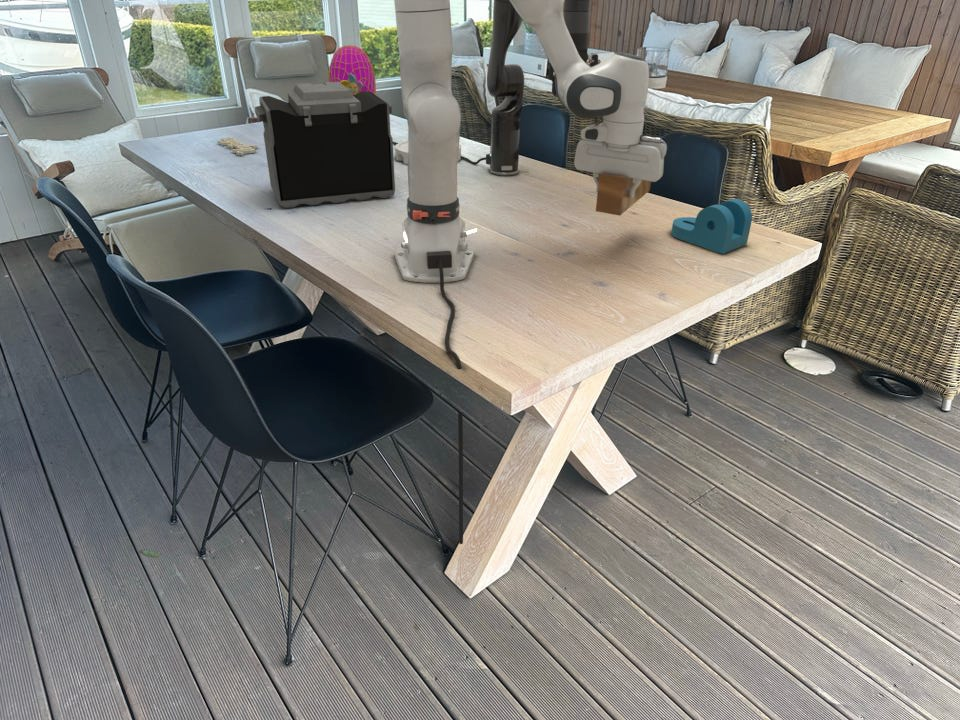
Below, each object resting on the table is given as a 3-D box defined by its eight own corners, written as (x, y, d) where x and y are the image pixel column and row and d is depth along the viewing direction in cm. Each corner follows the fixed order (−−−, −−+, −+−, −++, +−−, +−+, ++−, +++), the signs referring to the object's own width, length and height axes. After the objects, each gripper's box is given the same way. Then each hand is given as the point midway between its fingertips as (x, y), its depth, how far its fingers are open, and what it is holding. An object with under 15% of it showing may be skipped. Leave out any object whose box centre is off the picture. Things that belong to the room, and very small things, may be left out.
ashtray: (454, 167, 232) (454, 155, 230) (388, 164, 235) (387, 152, 233) (466, 151, 252) (466, 140, 250) (404, 148, 255) (404, 137, 253)
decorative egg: (362, 116, 305) (357, 42, 290) (386, 123, 292) (382, 46, 277) (324, 121, 294) (316, 45, 279) (347, 129, 281) (340, 49, 266)
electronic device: (382, 177, 221) (376, 78, 206) (401, 197, 203) (396, 90, 188) (265, 188, 209) (249, 84, 194) (274, 210, 192) (257, 97, 176)
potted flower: (342, 144, 260) (336, 73, 247) (351, 139, 266) (346, 70, 254) (365, 146, 257) (360, 74, 245) (374, 141, 264) (369, 71, 251)
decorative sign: (265, 149, 247) (238, 153, 242) (266, 152, 248) (239, 156, 243) (238, 135, 265) (212, 139, 260) (239, 138, 266) (213, 141, 260)
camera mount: (746, 244, 173) (755, 203, 168) (722, 254, 167) (730, 212, 162) (687, 225, 185) (693, 186, 180) (662, 233, 179) (668, 194, 174)
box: (620, 215, 156) (624, 178, 152) (595, 211, 159) (599, 174, 154) (649, 190, 173) (654, 156, 169) (627, 186, 176) (631, 152, 171)
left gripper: (672, 136, 150) (662, 198, 157) (584, 124, 158) (579, 184, 165) (664, 141, 145) (654, 205, 152) (574, 129, 153) (569, 190, 160)
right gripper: (593, 28, 185) (587, 92, 193) (544, 29, 181) (540, 94, 189) (606, 31, 179) (599, 96, 187) (555, 32, 175) (551, 99, 183)
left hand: (614, 194), depth 159 cm, fingers closed on box, 6 cm apart
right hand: (570, 95), depth 188 cm, fingers open, 8 cm apart
